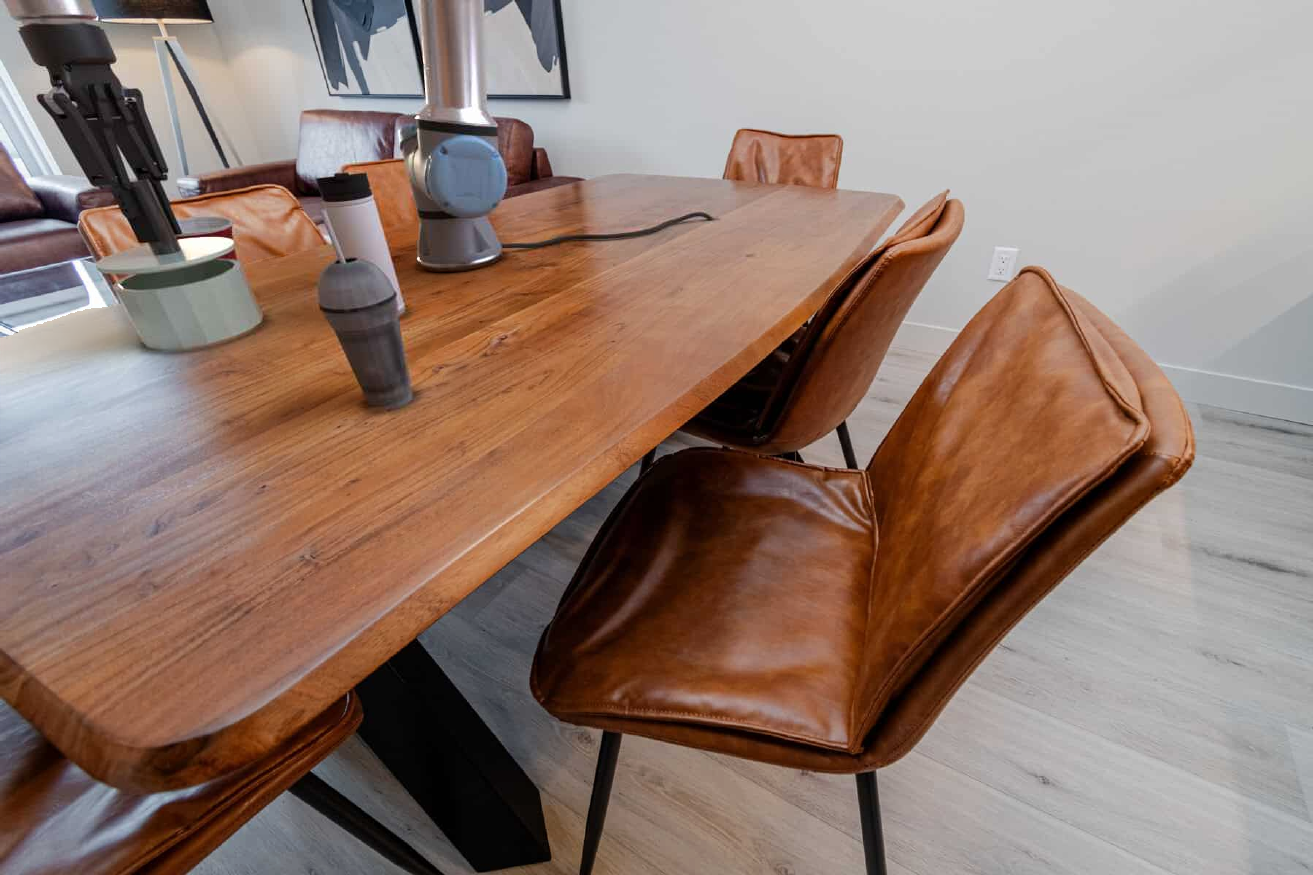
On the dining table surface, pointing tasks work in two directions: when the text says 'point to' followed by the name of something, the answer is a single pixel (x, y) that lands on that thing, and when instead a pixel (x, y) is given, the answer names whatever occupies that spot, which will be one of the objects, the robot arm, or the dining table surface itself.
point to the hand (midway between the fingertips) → (161, 237)
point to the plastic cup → (207, 229)
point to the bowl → (190, 304)
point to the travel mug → (357, 222)
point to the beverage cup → (366, 325)
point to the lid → (163, 245)
